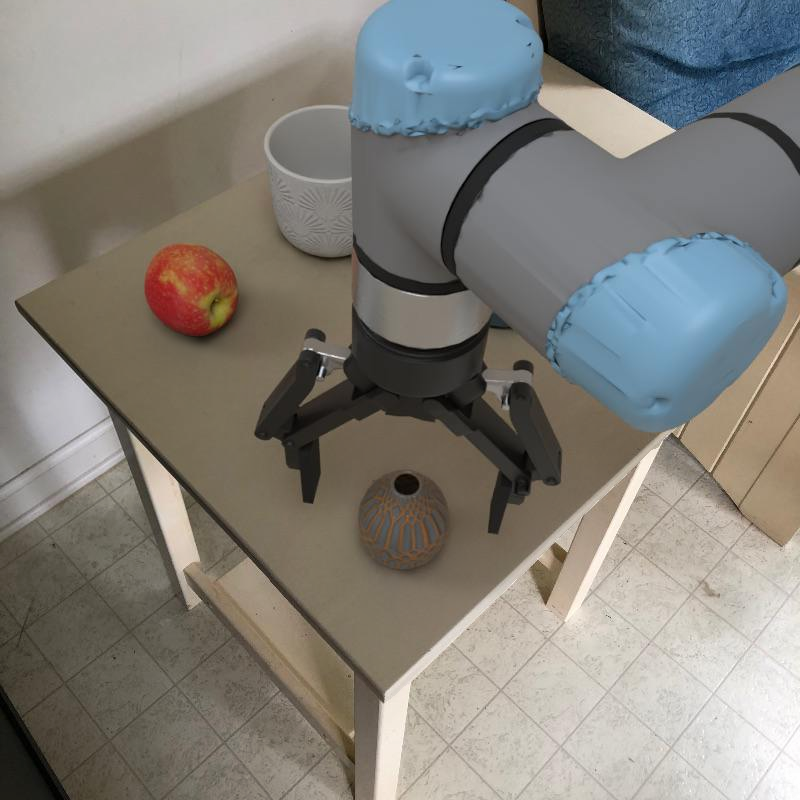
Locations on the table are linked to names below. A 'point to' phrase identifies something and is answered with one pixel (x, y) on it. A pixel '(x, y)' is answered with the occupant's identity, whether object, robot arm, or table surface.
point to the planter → (312, 178)
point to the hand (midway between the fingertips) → (402, 502)
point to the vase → (403, 519)
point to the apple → (191, 289)
